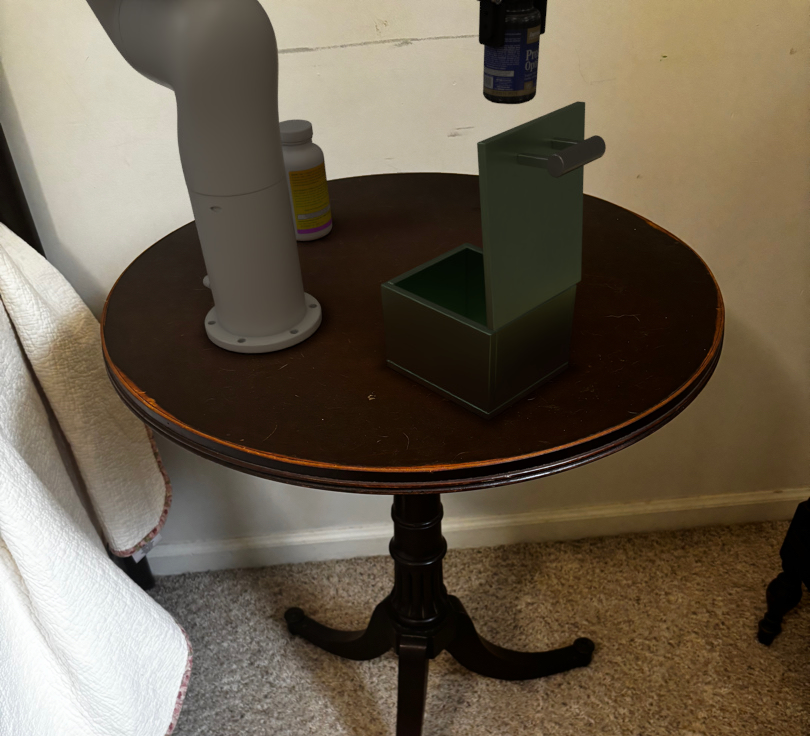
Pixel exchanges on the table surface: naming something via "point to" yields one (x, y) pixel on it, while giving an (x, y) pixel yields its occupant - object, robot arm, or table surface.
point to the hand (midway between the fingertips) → (512, 37)
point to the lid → (533, 210)
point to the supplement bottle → (306, 180)
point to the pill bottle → (514, 56)
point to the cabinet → (471, 335)
